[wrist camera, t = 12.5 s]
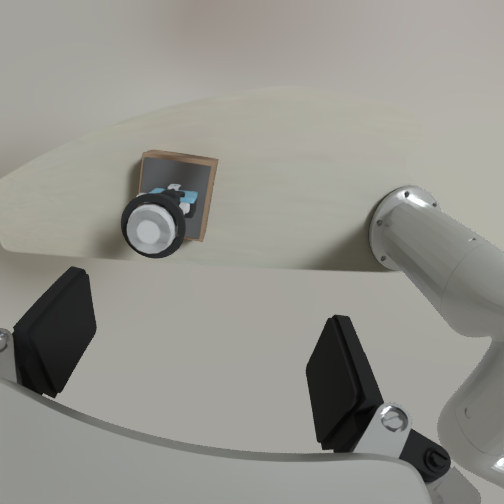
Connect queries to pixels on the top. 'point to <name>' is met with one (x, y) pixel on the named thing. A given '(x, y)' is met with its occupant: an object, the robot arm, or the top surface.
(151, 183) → the stand
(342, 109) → the top surface
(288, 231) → the top surface
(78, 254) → the top surface
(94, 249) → the top surface
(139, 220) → the push button
